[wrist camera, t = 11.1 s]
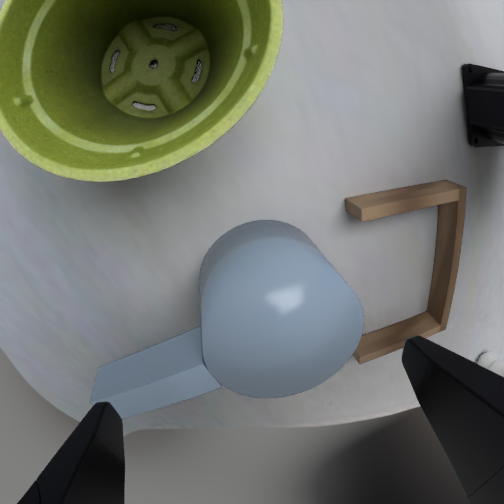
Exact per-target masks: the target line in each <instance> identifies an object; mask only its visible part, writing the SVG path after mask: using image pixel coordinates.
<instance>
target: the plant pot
mask: <svg viewBox="0 0 504 504" xmlns="http://www.w3.org/2000/svg"><path fill="white" fill-rule="evenodd" d="M164 23H166V24H172V25H175V26H177V27H178V30H177V31H172V30H167V29H162V28H161V29H159V28H154V27H153V26H155V25H157V24H164ZM283 23H284V18H283V5H282V0H6V1H5V3H4V5H3V7H2V9H1V11H0V130H1V132H2V133H3V135H4V136H5V137H6V139H7V140H8V141H9V143H10V144H11V145H12V146H13V147H14V148H15V149H16V151H17V152H18V153H19V154H21V155H22V156H23V157H24V158H26V159H27V160H28V161H30V162H31V163H33V164H34V165H36V166H37V167H39V168H41V169H43V170H45V171H47V172H50V173H52V174H55V175H58V176H61V177H64V178H69V179H74V180H80V181H91V182H110V181H122V180H128V179H133V178H137V177H142V176H146V175H149V174H153V173H156V172H159V171H162V170H164V169H167V168H169V167H172V166H174V165H176V164H178V163H181V162H183V161H185V160H186V159H188V158H190V157H192V156H194V155H195V154H197V153H199V152H200V151H202V150H204V149H206V148H207V147H208V146H210V145H211V144H213V143H214V142H215V141H217V140H218V139H219V138H220V137H222V136H223V135H224V134H225V133H226V132H228V131H229V130H230V129H231V128H232V127H233V126H234V125H235V124H236V123H237V122H238V121H239V120H240V119H241V118H242V117H243V116H244V114H245V113H246V112H247V111H248V110H249V109H250V107H251V106H252V105H253V104H254V102H255V101H256V99H257V98H258V96H259V95H260V93H261V92H262V90H263V88H264V87H265V85H266V83H267V81H268V79H269V77H270V75H271V73H272V70H273V68H274V65H275V62H276V59H277V56H278V53H279V49H280V44H281V40H282V35H283ZM116 50H119V51H120V53H119V55H118V58H117V61H116V65H115V71H114V72H113V73H111V72H110V70H109V68H110V64H111V57H112V55H113V53H114V52H115V51H116ZM152 60H157V61H158V66H157V67H156V69H152V68H150V67H149V64H150V62H151V61H152ZM197 60H200V61H201V62H202V70H201V74H200V77H199V80H198V81H196V82H195V83H192V81H191V80H192V78H193V75H194V73H195V69H196V64H197ZM134 101H136V102H140V103H144V104H155V105H156V106H157V107H156V108H155V109H154V110H151V111H146V110H142V109H137V108H135V107H134V106H133V105H132V103H133V102H134Z"/></svg>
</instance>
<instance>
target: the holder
mask: <svg viewBox="0 0 504 504" xmlns="http://www.w3.org/2000/svg"><path fill="white" fill-rule="evenodd" d="M465 202H466V187H463V186H461V185H458V184H456V183H453V182H451V181H448V180H443V181H437V182H431V183H425V184H420V185H414V186H408V187H403V188H397V189H392V190H386V191H381V192H376V193H370V194H365V195H360V196H355V197H350V198H345V203H346V211H348V212H349V213H350V214H352V215H353V216H355V217H356V218H357V219H359V220H360V221H361V222H364V221H369V220H373V219H377V218H382V217H386V216H391V215H395V214H400V213H404V212H408V211H413V210H417V209H422V208H426V207H431V206H435V205H439V210H438V227H437V240H436V251H435V261H434V269H433V277H432V284H431V291H430V297H429V303H428V309H427V312H424V313H422V314H419V315H417V316H414V317H412V318H409V319H407V320H404V321H401V322H399V323H396V324H393V325H391V326H388V327H385V328H382V329H380V330H377V331H374V332H371V333H368V334H365V335H362V336H361V339H360V341H359V344H358V346H357V348H356V350H355V351H354V353H353V355H354V356H355V358H356V360H357V361H358V363H359V364H362V363H364V362H367V361H370V360H373V359H375V358H378V357H381V356H383V355H386V354H389V353H391V352H394V351H396V350H399V349H401V348H404V345H405V341H406V340H407V339H408V338H410V337H413V336H416V335H419V336H422V337H424V338H427V337H429V336H432V335H434V334H436V333H438V332H441V331H443V330H445V329H446V325H447V321H448V317H449V313H450V308H451V304H452V299H453V294H454V289H455V284H456V278H457V272H458V266H459V259H460V252H461V245H462V236H463V227H464V216H465Z"/></svg>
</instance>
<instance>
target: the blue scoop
mask: <svg viewBox="0 0 504 504" xmlns="http://www.w3.org/2000/svg"><path fill="white" fill-rule="evenodd" d="M199 280H200V309H201V326H200V327H198V328H195V329H193V330H190V331H188V332H186V333H183V334H181V335H179V336H176V337H174V338H171V339H169V340H167V341H164V342H162V343H159V344H157V345H154V346H152V347H149V348H147V349H144V350H142V351H140V352H137V353H134V354H132V355H129V356H127V357H124V358H122V359H119V360H117V361H114V362H111V363H109V364H106V365H104V366H101V367H99V370H98V373H97V377H96V381H95V384H94V388H93V392H92V396H91V400H90V403H91V404H92V405H93V406H94V404H95V403H97V402H104V401H107V402H110V403H111V404H112V406H113V407H114V409H115V410H116V411H117V413H118V414H119V415H120V417H121V419H124V418H127V417H131V416H135V415H138V414H142V413H145V412H149V411H152V410H155V409H159V408H162V407H165V406H168V405H172V404H175V403H178V402H181V401H184V400H187V399H190V398H193V397H196V396H199V395H201V394H204V393H207V392H210V391H213V390H215V389H218V388H221V387H222V385H223V386H224V387H226V388H228V389H229V390H231V391H234V392H236V393H238V394H242V395H245V396H250V397H256V398H278V397H285V396H290V395H294V394H297V393H301V392H303V391H306V390H308V389H311V388H313V387H315V386H317V385H319V384H321V383H322V382H324V381H326V380H327V379H328V378H330V377H331V376H333V375H334V374H335V373H336V372H337V371H338V370H340V369H341V368H342V367H343V366H344V365H345V363H346V362H347V361H348V360H349V359H350V357H351V356H352V355H353V353H354V351H355V350H356V348H357V346H358V344H359V341H360V339H361V336H362V332H363V326H364V314H363V308H362V305H361V303H360V300H359V298H358V297H357V295H356V294H355V292H354V291H353V290H352V289H351V287H350V286H349V285H348V284H347V282H346V281H345V280H344V279H343V278H342V276H341V275H340V274H339V273H338V271H337V270H336V269H335V268H334V267H333V265H332V264H331V263H330V262H329V261H328V259H327V258H326V257H325V256H324V255H323V253H322V252H321V251H320V250H319V249H318V248H317V246H316V245H315V244H314V243H313V242H312V241H311V239H310V238H309V237H308V236H307V235H306V234H305V233H304V232H302V231H301V230H300V229H298V228H296V227H295V226H292V225H290V224H288V223H284V222H281V221H275V220H258V221H252V222H248V223H244V224H242V225H239V226H237V227H235V228H233V229H231V230H229V231H228V232H226V233H225V234H224V235H222V236H221V237H220V238H219V239H218V240H217V241H216V242H215V243H214V244H213V245H212V246H211V248H210V249H209V251H208V252H207V254H206V256H205V258H204V260H203V263H202V266H201V270H200V277H199ZM221 384H222V385H221Z"/></svg>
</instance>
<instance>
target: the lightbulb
mask: <svg viewBox="0 0 504 504" xmlns="http://www.w3.org/2000/svg"><path fill="white" fill-rule="evenodd" d="M478 365H480V366H482V367H484V368H486V369H488V370H491V371H493V372H495V373H497V374H499V375H501V376H503V377H504V361H502V360H501V359H498V358H497V357H496V356H495V355H494V354H493V353H491V352H490V351H489V352H486V353H483V354H482V355H481V356H480V357H479V362H478Z"/></svg>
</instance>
